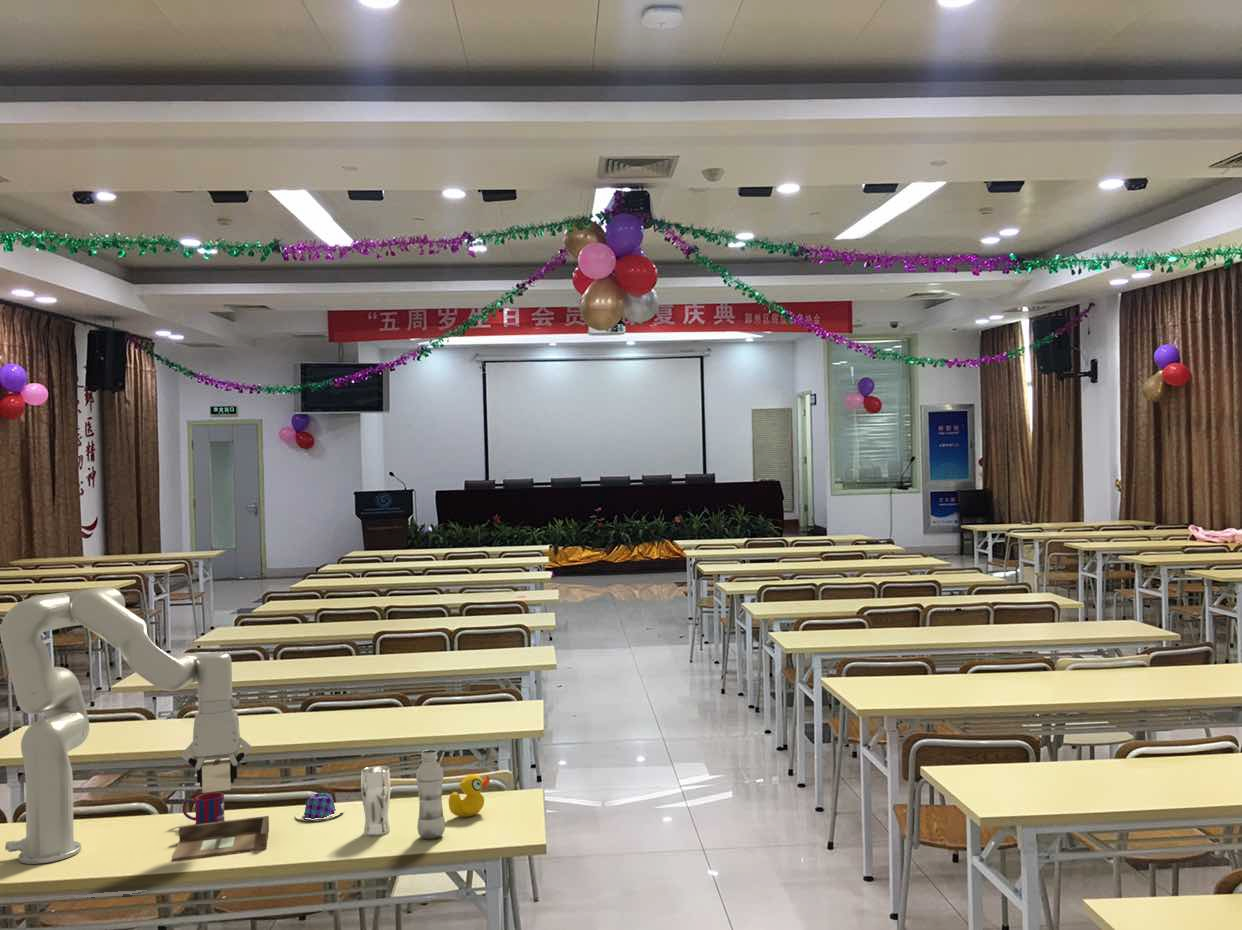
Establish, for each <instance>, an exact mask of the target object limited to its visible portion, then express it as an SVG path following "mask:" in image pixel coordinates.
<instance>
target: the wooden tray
mask: <svg viewBox="0 0 1242 930" xmlns="http://www.w3.org/2000/svg"><path fill="white" fill-rule="evenodd" d="M269 816H270V815H265V816H256V817H247V818H240V819H232V820H231V819H230V820H224V821H221V822H212V823H204V824H196V823H195V824H190V825H189V824H188V825H187V824H186V825H181V826H179V832H178V833H179V838H178V839H179V841H178V843H177V846H176V849H175V851H174V853H173V856H172V858H171V859H172V862H176V860H178V861H183V860H182V859H185V860H193V859H200V858H206V857H214V856H215V857H217V856H223V855H222V854H225V855H229V853H232V854H239V853H238V852H240V853H246V852H247V851H248V852H254V851H255V852H256V851H262V849H264V850H267V849H268V848H267V847H268V842H267V841H268V840H269V834H268V833H270V821H269V820H270V817H269ZM216 855H217V856H216ZM185 860H184V861H185Z"/></svg>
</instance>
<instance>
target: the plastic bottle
mask: <svg viewBox="0 0 1242 930" xmlns="http://www.w3.org/2000/svg"><path fill="white" fill-rule="evenodd" d="M420 760H421V764H420V765H419V767H418V769H417V770H416V774H415V779H416V780H415V781H416V784H417V785H416V786H417V790H418V791H417V792H418V801H419V803H418V804H419V806H418V819H417V828H416V829H417V832H418V833H417V834H418V836H419V837H420V838H422V839H426V840H427V839H428V840H429V839H430V840H431V839H436V838H439V837H442V836H443V834H444V833H445V829H446V820H445V816H444V809H443V803H442V801H443V797H442V796H443V782H444V770H443V769H442V767H441V765H440V764H439V762H438V761H437V760H438V750H436V749H427V750H426V749H425V750H423V751H421V759H420Z"/></svg>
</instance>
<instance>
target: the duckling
mask: <svg viewBox="0 0 1242 930" xmlns="http://www.w3.org/2000/svg"><path fill="white" fill-rule="evenodd" d="M490 778H491V777H490V776H489V775H486V777H484V778H483V779H482V777H481V776H480V775H479V774H474V773H471V774H468V775H466V776H465V777H464V778H463V779H462V780H461V782H459V788H460V789H461V791H462V792H463V794H465V795H466V796H465V797H464V798H463V799H462V798H461V796H460V794H459V793H458V792H456V791H453V792H452V793H451V794H450V796H449V797H448V809H449V811H450V813H452V815H455V816H457V817H460V818H466V817H467V818H468V817H473V816H475V815H477V814H478V813H480V812H481V810H482V809H483V807H484V805H485V798H484V796H483V795H482V793H481V791H482V790H484V789H485V788H487V787H488V786H489V784H490V781H491V779H490Z"/></svg>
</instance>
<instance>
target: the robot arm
mask: <svg viewBox="0 0 1242 930" xmlns="http://www.w3.org/2000/svg"><path fill="white" fill-rule="evenodd" d="M74 626H75V627H76V626H83V627H85V628H86V629H87V630H89V632H92V633H93V634H94V635H96V636H97V637H99V638H101V639H102V640H104V641H105V642H107V643H108V645H110V646H112V647H113V648H114V649H116V650H117V651H118V652H119V653H120V654H121V656H122V658H123V660H124V661H125V662H126V663H127V665H128V666H129V667H130V668H131V669H132V671H134V672H135V673H136V674H137V675H138V676H140V677H141V678H142V679H144V680H146V681H147V682H149V684H152V685H153V686H155V687H156V688H158V689H160V690H163V691H164V692H165V691H166V692H175V691H178V690H181V689H182V688H183V689H184V687H187V686H190V685H193V684H197V706H198V707H197V708H198V711H197V712H195V715H194V721H193V729H192V730H193V731H192V732H193V734H192V741H191V743H190V744H189V745H188V746H187V747H186V748H185V749H184V750H183V751H182V753H181V754H180V757H181V758H182V759H184V761H186V762H187V763H189V765H190V766H191V767H193V768H194V769H195V770H196V783H197V784H199V787H200V788H202V765H203V763H204V761H205V758H210V757H220V756H228V758H230V761H231V766H230V776H231V784H232V785H233V784H234V783H235V780H236V779H238V764H239V763H240V762H241V761H242V760H243V758H244V757H246V755H248V753H249V752H250V751H251V750H252V748H253V747H252V744H250V743H249V742H247V741H246V740H245V739H243V738H242V737H241V733H240V722H239V714H238V710H237V709H236V708H234V707H236V706H239V705H240V699H238V698H237V699H236V698H234V697H233V673H232V671H233V669H232V667H233V666H232V665H233V664H232V657H231V655H230V654H229V653H226V652H212V653H197V652H196V653H194V652H183V653H180V654H177V655H173V656H171V655H169V654H168V653H167V652H165V651H164V650H162V649H160V648H159V647H158V646H157V645H156V644H155V643H154V642H153V641H152V640H151V639H150V637H149V635H148V624H147V622H146V621H145V620H144V619H143V618H142V617H140V616H138V615H137V614H135V613H133V612H132V611H131V610H129V609H128V608H126V599H125V597H124V596H123V594H122V593H121V591H119V590H118V589H116V588H113V587H112V586H111V587H110V586H100V587H95V588H89V589H82V590H81V589H80V590H74V591H73V590H72V591H64V592H57V593H50V594H43V595H38V596H34V597H33V596H32V597H29V598H26V599H23V600H22V601H20V602H18V603H16V604H15V605H14V606H12V607H11V608H10V609H9V610H8V611H7V612H6V614H5V615H4V617H3V619H2V621H1V624H0V641H1V644H2V648H3V651H4V654H5V658H6V661H7V665H8V670H9V674H10V678H11V683H12V686H13V691H14V695H15V698H16V703H17V705H18V707H19V709H20V710H21V711H23V712H24V713H25V714H29V715H38V714H42V713H43V714H44V718H41V719H39V720H37V721H35V722H33V723H32V724H31V725H30V726H29V727H28V728H27V729H26V730H25V731H24V733H23V735H22V738H21V742H20V750H21V755H22V760H23V764H24V765H23V766H24V775H25V777H24V778H25V828H26V829H25V833H26V834H25V835H26V836H25V838H21V840H9V841H6V842H5V851H8V853H13V852H17V851H19V852H20V853H19V854H18V861H19V863H22V864H27V865H38V864H39V865H40V864H46V863H53V862H58V861H61V860H64V859H67V858H70V857H73V856H75V855H76V854H79V853H80V851H81V850H82V844H81V843H80V842H78V841H75V840H74V781H73V780H74V779H73V776H74V775H73V769H72V764H71V761H70V758H69V752H70V751H72V750H74V749H76V748H78V747H80V746H81V745H83V743H84V742H85V741H86V740H87V738H88V736H89V733H90V721H89V715H88V711H87V707H86V703H85V701H84V696H83V692H82V688H81V684H80V682H79V680H78V678H77V676H76V675H75V674H74V673H73V671H71V670H69V669H68V668H67V667H66V668H65V667H62V666H54V665H53V662H52V660H51V655H50V651H49V649H48V646H47V645H46V643H45V642H44V640H43V639H42V634H43V633H45V632H49V631H54V630H58V629H63V628H67V627H74ZM240 747H242V748H243V749H242V750H240V751H241V752H239V753H238V751H239V748H240ZM191 752H192V755H193V756H194V757H193V756H192V755H191V754H190V753H191ZM237 753H238V754H237ZM196 758H198V759H196Z"/></svg>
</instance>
